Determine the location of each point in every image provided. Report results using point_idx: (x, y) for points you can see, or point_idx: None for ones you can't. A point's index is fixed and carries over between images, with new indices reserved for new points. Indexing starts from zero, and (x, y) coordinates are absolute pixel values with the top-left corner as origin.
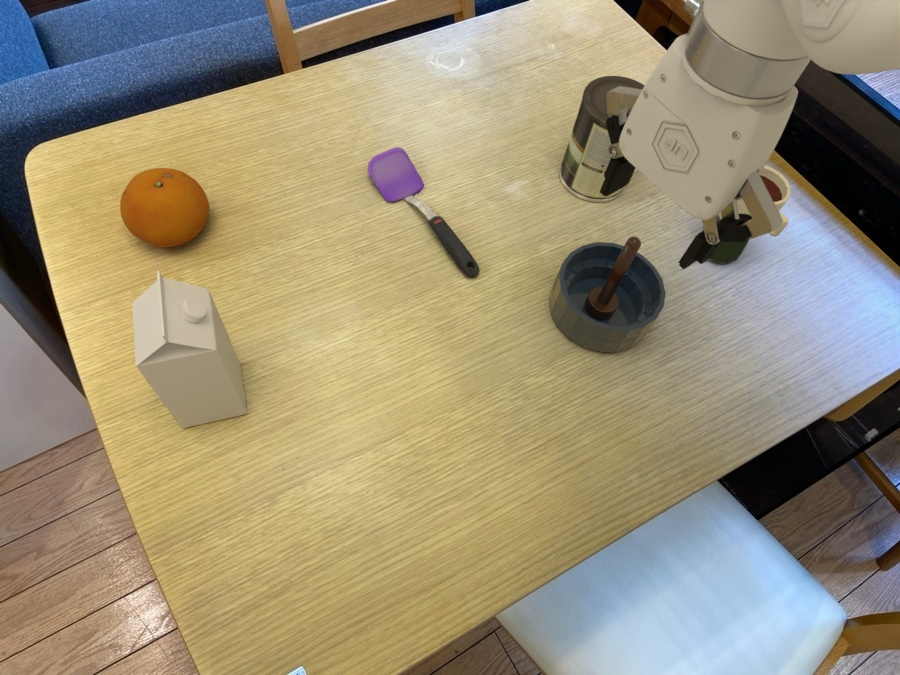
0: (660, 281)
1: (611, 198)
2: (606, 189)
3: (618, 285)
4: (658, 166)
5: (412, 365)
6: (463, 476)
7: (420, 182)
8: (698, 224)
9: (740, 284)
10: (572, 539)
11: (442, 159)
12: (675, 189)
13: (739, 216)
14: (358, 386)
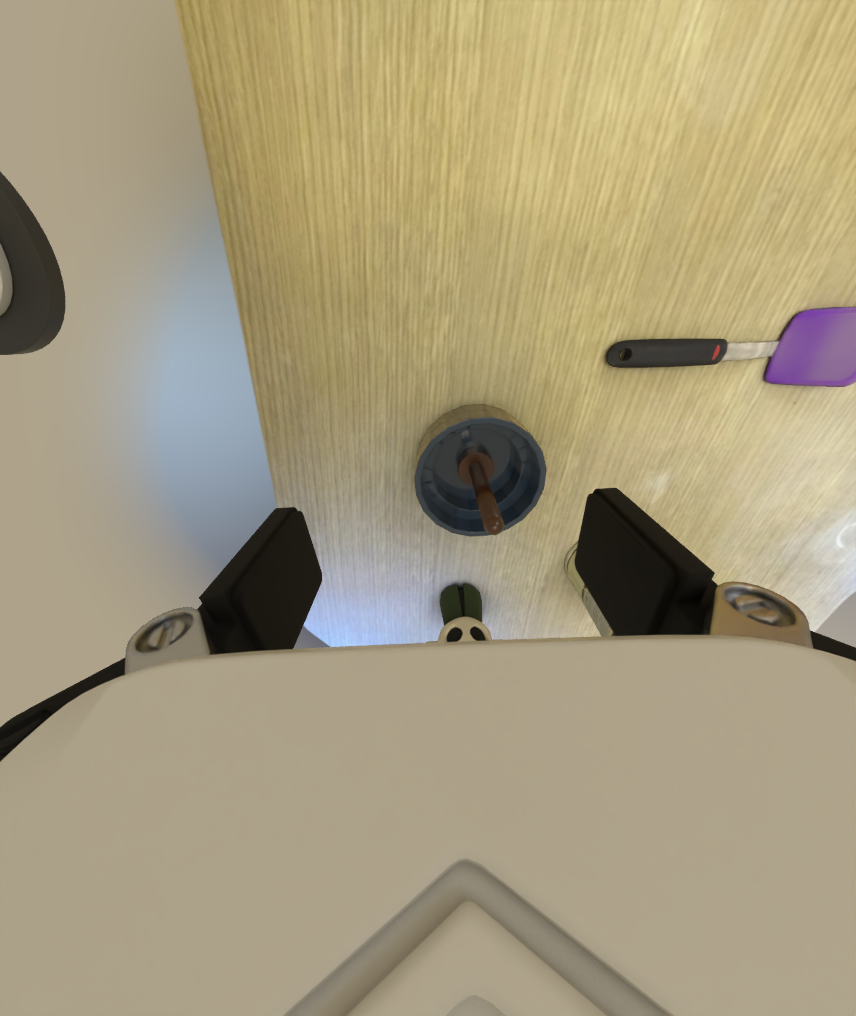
0: (451, 529)
1: (567, 558)
2: (609, 502)
3: (473, 486)
4: (536, 835)
5: (564, 155)
6: (372, 112)
7: (776, 378)
8: (489, 600)
9: (419, 588)
10: (239, 223)
11: (769, 433)
12: (289, 744)
13: (459, 636)
14: (598, 7)
